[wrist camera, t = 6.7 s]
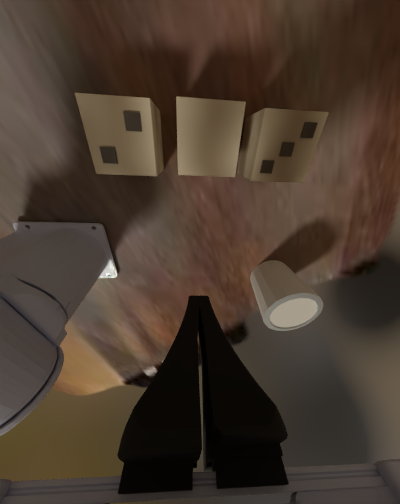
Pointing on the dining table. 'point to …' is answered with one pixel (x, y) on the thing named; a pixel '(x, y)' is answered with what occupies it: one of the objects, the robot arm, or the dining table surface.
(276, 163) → the dotted block three
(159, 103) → the dining table surface
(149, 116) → the dotted block two
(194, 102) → the plain block
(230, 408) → the robot arm
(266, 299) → the cream short cylinder
